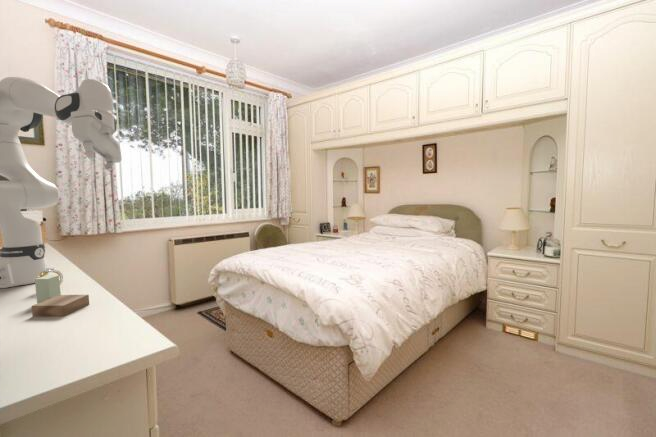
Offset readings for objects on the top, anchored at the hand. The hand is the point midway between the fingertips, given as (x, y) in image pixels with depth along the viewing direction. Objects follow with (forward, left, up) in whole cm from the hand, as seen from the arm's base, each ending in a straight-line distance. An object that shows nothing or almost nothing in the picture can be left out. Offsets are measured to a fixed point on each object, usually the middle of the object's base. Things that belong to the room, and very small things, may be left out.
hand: (100, 164), depth 101 cm
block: (-16, -6, -43) cm, 46 cm away
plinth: (-6, -13, -43) cm, 45 cm away
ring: (-26, +6, -43) cm, 51 cm away
